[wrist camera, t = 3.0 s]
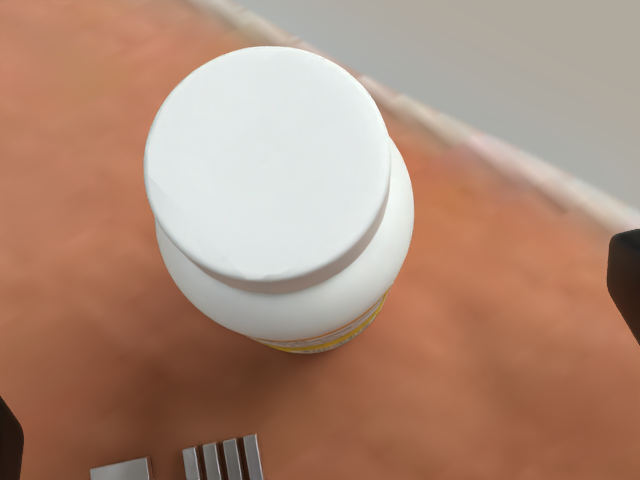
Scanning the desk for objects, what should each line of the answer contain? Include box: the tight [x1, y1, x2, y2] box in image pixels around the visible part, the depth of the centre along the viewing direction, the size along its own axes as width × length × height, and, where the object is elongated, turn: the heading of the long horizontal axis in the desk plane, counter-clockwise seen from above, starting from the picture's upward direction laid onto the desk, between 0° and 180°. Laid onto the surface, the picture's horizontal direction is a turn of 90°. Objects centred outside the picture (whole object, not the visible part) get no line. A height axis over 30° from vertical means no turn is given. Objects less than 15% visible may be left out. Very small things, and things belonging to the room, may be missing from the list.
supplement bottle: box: [144, 46, 414, 353], centre depth 14 cm, size 5×5×10 cm
